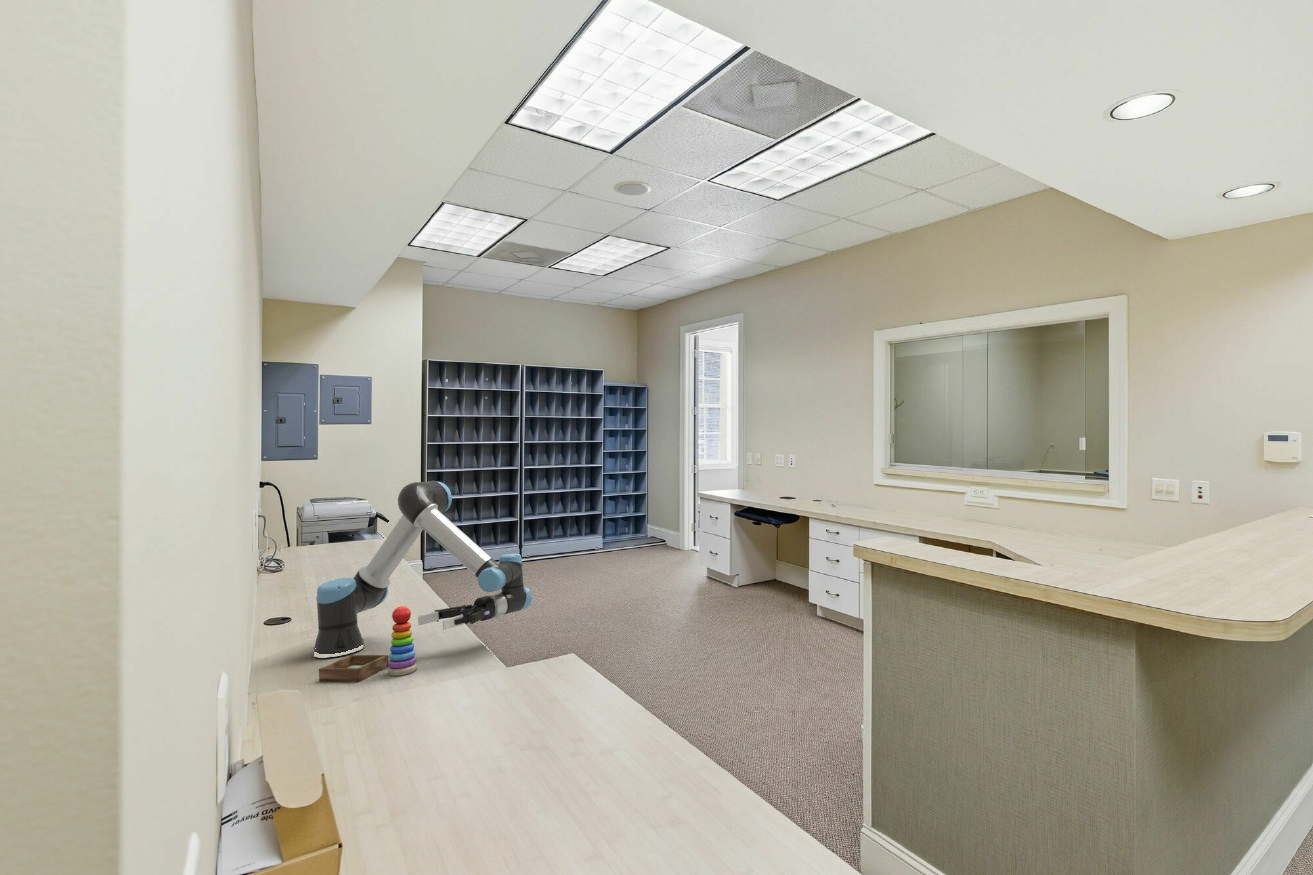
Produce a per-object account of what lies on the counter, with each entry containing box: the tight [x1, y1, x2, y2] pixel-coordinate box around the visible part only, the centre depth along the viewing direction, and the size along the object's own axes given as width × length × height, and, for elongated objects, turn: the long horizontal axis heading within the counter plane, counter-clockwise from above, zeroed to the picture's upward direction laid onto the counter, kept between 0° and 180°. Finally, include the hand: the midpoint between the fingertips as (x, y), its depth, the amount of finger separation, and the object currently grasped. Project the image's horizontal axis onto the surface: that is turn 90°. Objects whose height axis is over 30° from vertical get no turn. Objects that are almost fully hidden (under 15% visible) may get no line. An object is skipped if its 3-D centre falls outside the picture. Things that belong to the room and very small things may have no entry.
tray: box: [318, 654, 390, 683], centre depth 181 cm, size 13×13×4 cm
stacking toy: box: [387, 605, 418, 677], centre depth 180 cm, size 8×8×19 cm
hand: (430, 622), depth 187 cm, fingers open, 13 cm apart
